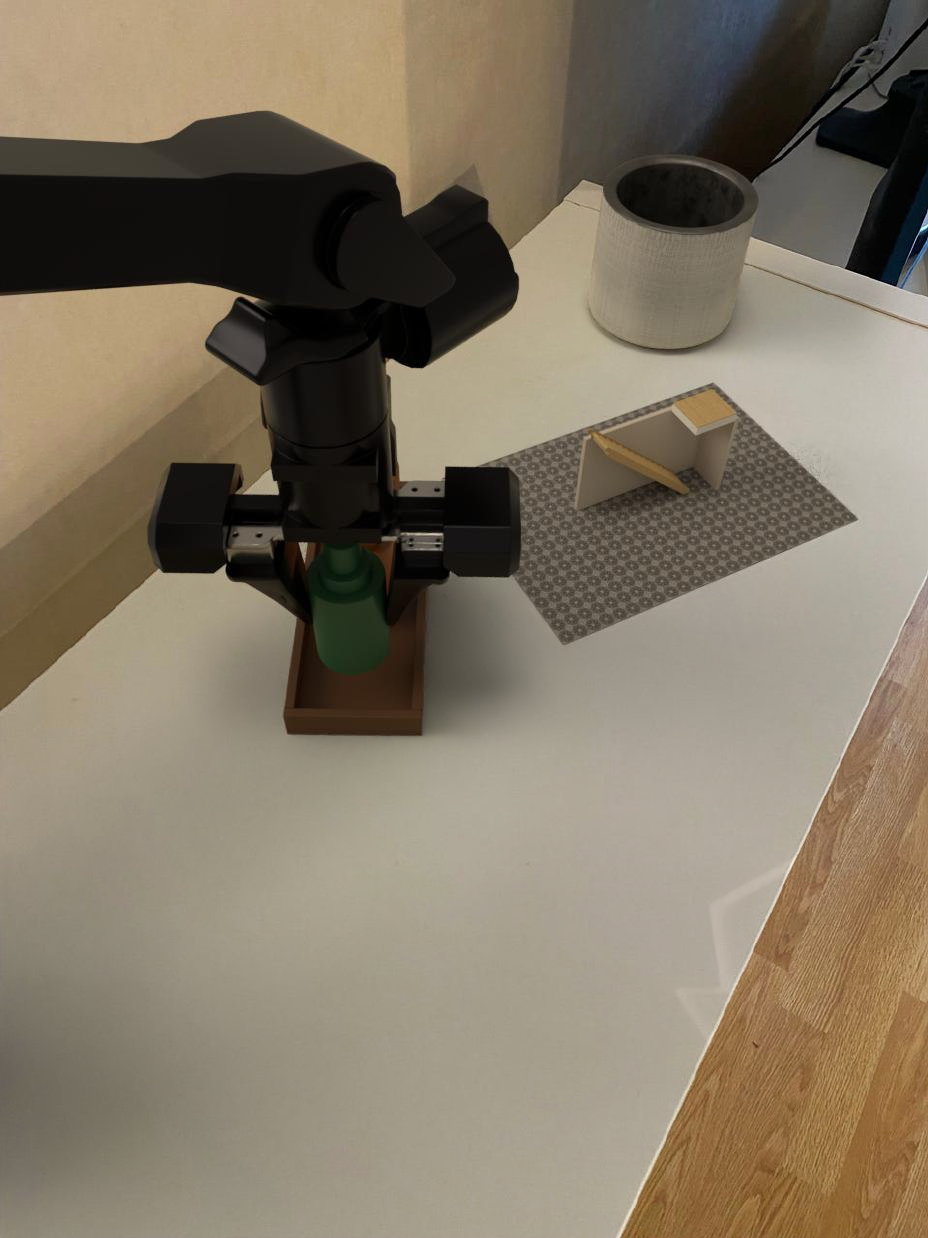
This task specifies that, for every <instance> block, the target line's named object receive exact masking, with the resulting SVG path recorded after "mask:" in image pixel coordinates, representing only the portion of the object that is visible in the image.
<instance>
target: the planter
mask: <svg viewBox="0 0 928 1238" xmlns="http://www.w3.org/2000/svg"><path fill="white" fill-rule="evenodd" d="M759 200H760V199H759V195H758V192H757V190H756V188H755V186H754V185H753V184H752V182H750V180H749V179H748V178H747V177H745V176H744V175H743V174H741V173H740V172H738V171H737V170H735V169H733V168H731V167H730V166H727V165H725V164H723V163H720V162H718V161H714V160H711V159H707V158H704V157H699V156H694V155H686V154H685V155H684V154H653V155H645V156H641V157H637V158H634V159H631V160H628V161H626V162H623V163H621V164H620V165H618V166H616V167H615V168H614V169H612V170H611V171H610V172H609V173H608V174H607V175H606V177H605V179H604V181H603V185H602V191H601V197H600V205H599V213H598V221H597V229H596V236H595V243H594V250H593V257H592V263H591V264H592V265H591V271H590V277H589V284H588V285H589V286H588V294H587V295H588V296H587V297H588V308H589V311H590V313H591V315H592V317H593V318H594V319H595V321H596V322H597V323H598V324H599V325H600V326H601V327H602V328H603V329H604V330H606V331H607V332H608V333H610V334H612V335H613V336H615V337H616V338H618V339H621V340H623V341H624V342H628V343H631V344H632V345H636V346H639V347H643V348H649V349H655V350H656V349H657V350H679V349H686V348H691V347H695V346H698V345H702V344H705V343H707V342H709V341H711V340H713V339H715V338H717V337H718V336H719V335H720V334H721V333H723V332H724V331H725V329H726V328H727V327H728V325H729V324H730V321H731V318H732V317H733V313H734V309H735V305H736V301H737V297H738V292H739V288H740V284H741V280H742V275H743V270H744V267H745V262H746V258H747V254H748V248H749V245H750V241H751V236H752V233H753V229H754V224H755V221H756V216H757V212H758V209H759V208H758V207H759Z"/></svg>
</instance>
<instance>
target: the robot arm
mask: <svg viewBox="0 0 928 1238" xmlns="http://www.w3.org/2000/svg"><path fill="white" fill-rule="evenodd" d="M402 206H403V205H402V198H401V190H400V189H399V186H398V184H397V175H396V174H395V172H394V171H392V170H391V169H390V168H389V166H387V165H385V164H383V163H381V162H379V161H376V160H375V159H373V158H370V157H368V156H367V155H365V154H362V153H361V152H359V151H357V150H354V149H352V148H350V147H348V146H346V145H344V144H342V143H340V142H338V141H337V140H335V139H332V138H330V137H329V136H326V135H324V134H322V133H320V132H318V131H316V130H314V129H311V128H310V127H308V126H306V125H304V124H302V123H300V122H297V121H295V120H294V119H292V118H289V117H287V116H285V115H283V114H280V113H278V112H275V111H272V110H254V111H248V112H247V111H246V112H241V113H235V114H229V115H222V116H221V115H220V116H215V117H209V118H202V119H197V120H194V121H193V122H192V123H190V124H188V125H187V126H186V127H184V128H182V129H181V130H180V131H178V132H176V133H174V135H172V136H170V137H167V138H162V139H157V140H150V141H144V142H125V141H123V142H122V141H105V140H104V141H102V140H84V139H83V140H82V139H65V138H63V139H61V138H42V137H23V136H20V137H19V136H3V135H1V136H0V297H5V296H6V297H7V296H20V295H21V296H22V295H33V294H34V295H37V294H49V293H61V292H63V293H64V292H76V291H77V292H81V291H93V290H107V289H108V290H109V289H121V288H137V287H149V286H150V287H151V286H164V285H180V284H195V285H203V286H210V287H216V288H220V289H224V290H228V291H231V292H233V293H237V294H241V296H237V297H236V298H235V299H234V301H233V303H232V306H231V308H230V310H229V312H228V313H227V314H226V315H225V316H224V317H223V318H222V319H221V320H219V321H218V322H217V323H216V324H215V325H214V326H213V327H212V329H211V331H210V333H208V335H207V338H206V339H205V341H204V348H205V350H206V351H207V353H209V354H210V355H212V356H213V357H215V358H217V359H218V360H219V361H221V362H223V363H224V364H225V365H227V366H228V367H230V368H231V369H233V370H234V371H236V372H237V373H238V374H240V375H242V376H243V377H245V378H246V379H248V380H249V381H251V382H253V384H255V385H257V386H259V390H260V391H259V402H260V414H261V416H260V417H261V425H262V426H263V428H264V429H265V430H267V434H268V439H269V444H270V445H269V446H270V451H271V459H270V465H269V466H270V470H271V472H270V473H271V477H272V481H273V482H276V483H277V484H276V485H277V490H278V494H268V493H267V494H265V493H264V494H262V493H261V494H260V493H258V494H257V493H255V494H254V493H246V494H245V493H237V492H238V491H239V490H240V489H241V488H243V487H244V486H243V485H244V481H245V478H244V472H243V469H242V468H243V467H242V464H239V463H233V462H231V463H230V462H229V463H228V462H227V463H226V462H171V463H169V465H168V466H167V467H166V468H165V470H164V471H163V472H162V473H161V476H160V480H159V484H158V488H157V491H156V494H155V498H154V502H153V505H152V509H151V513H150V516H149V520H148V522H147V527H146V528H147V529H146V530H147V531H146V533H147V546H148V549H149V551H150V555H151V557H152V561H153V564H154V566H155V567H156V568H158V570H159V571H160V572H162V573H163V574H196V575H197V574H201V575H202V574H203V575H208V574H209V575H214V574H215V573H217V572H218V571H219V570H221V569H222V568H223V567H225V568H224V570H225V575H226V577H227V579H228V580H229V581H231V582H232V583H244V584H246V585H249V587H251V588H253V589H255V590H256V591H258V592H260V593H261V594H263V595H264V596H266V597H268V598H270V599H271V600H273V601H275V603H277V604H278V605H280V606H281V607H283V608H284V609H285V610H287V611H288V612H289V613H290V614H292V615H293V616H294V617H296V619H297V618H298V619H299V620H301V621H302V622H303V623H305V624H306V625H312V624H313V620H312V614H311V608H310V602H309V596H308V590H307V584H306V572H307V571H306V567H305V559H304V557H303V553H302V550H301V546H300V543H303V544H304V543H305V544H307V543H370V544H382V541H394V548H393V556H392V563H391V571H390V579H389V587H388V597H387V611H386V619H387V625H388V626H394V625H395V624H396V623H397V621H398V620H399V618H400V617H401V616H402V614H403V613H404V611H405V610H406V609H407V607H408V606H409V605H410V603H411V602H412V601H413V600H414V599H415V598H416V597H418V596H419V595H420V594H421V593H422V592H423V591H424V590H425V589H427V588H428V589H429V587H430V586H441V585H444V584H446V583H448V582H449V580H450V578H451V574H453V575H455V576H457V577H458V578H499V579H500V578H501V579H502V578H503V579H504V578H506V579H508V578H510V577H512V576H513V574H514V573H515V572H517V571H518V570H519V567H520V554H521V512H520V487H519V478H518V477H517V475H516V474H515V473H514V472H513V471H512V470H511V469H510V468H509V467H476V466H451V465H450V466H449V465H448V466H447V465H445V466H444V478H445V481H443V480H408V481H409V482H407V483H405V484H404V485H403V486H402V487H401V488H400V489H393V480H392V476H396V474H397V461H398V447H397V446H398V445H397V443H398V442H397V429H396V426H395V423H394V421H393V415H392V413H393V412H392V378H391V375H389V374H387V361H386V359H388V360H393V361H395V362H396V363H398V364H399V365H401V366H405V367H408V368H410V369H424V368H426V367H428V366H430V365H431V364H433V363H435V362H436V361H438V360H440V359H441V358H442V357H444V356H445V355H446V354H448V353H450V352H451V351H453V350H454V349H456V348H458V347H459V346H461V345H463V344H464V343H465V342H467V341H469V340H470V339H472V338H473V337H475V336H477V335H478V334H479V333H481V332H482V331H484V330H486V329H487V328H489V327H490V326H492V325H493V324H495V323H496V322H498V321H500V320H502V319H503V318H504V317H506V316H507V315H508V314H509V313H510V312H511V311H512V310H513V309H514V306H515V304H516V302H517V301H518V296H519V293H520V292H519V291H520V277H519V274H518V273H517V271H516V270H515V265H514V261H513V259H512V256H511V253H510V251H509V250H510V249H508V247H507V245H506V243H505V241H504V240H503V238H502V236H501V235H500V233H499V232H498V231H497V230H496V228H495V227H494V226H493V224H491V222H490V221H489V200H488V199H487V198H486V197H484V196H481V195H479V194H478V193H475V192H473V191H471V190H469V189H467V188H465V187H463V186H462V185H459V184H454V185H452V186H450V187H448V188H447V189H445V190H443V191H441V192H440V193H437V195H436V196H435V197H433V198H432V200H430V201H429V202H428V203H426V204H424V205H423V206H421V207H419V208H417V209H415V210H413V211H412V212H410V213H408V214H406V215H403V207H402ZM242 295H243V296H242ZM244 295H245V296H248V297H251V298H254V299H256V300H255V301H254V302H252V301H251V300H250V299H247V297H244Z"/></svg>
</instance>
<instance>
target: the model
mask: <svg viewBox="0 0 928 1238" xmlns="http://www.w3.org/2000/svg"><path fill="white" fill-rule="evenodd" d="M739 421H740V417H739V416H738V412H737V411H736V410H735V409H734V408H733V407H732V406H731V405H729V404H728V403H727V402H726V401H725V400H724V399H723V398H722V397H721V396H720V395H719V394H718V393H717V392H716V391H715V390H714V389H713V388H711V389H708V390H705V391H703V392H700V393H697V394H694V395H691V396H689V397H686V398H683V399H680V400H677V401H675V402H673V403H672V405H670V406H667V407H664V408H661V409H658V410H656V411H653V412H650V413H647V414H644V415H642V416H639V417H636V418H633V419H630V420H628V421H625V422H622V423H619V424H616V425H614V426H611V427H608V428H605V429H602V430H600V431H597V430H595V429H593V428H588V429H587V430H586V434H587V435H586V436H583V437H582V445H581V452H580V460H579V467H578V475H577V482H576V489H575V497H574V504H573V508H574V509H575V510H576V511H579V510H582V509H583V508H587V507H590V506H591V505H594V504H598V503H599V502H602V501H605V500H607V499H610V498H613V497H615V496H618V495H621V494H622V493H626V492H629V491H632V490H633V489H636V488H640V487H641V486H644V485H647V484H649V483H652V482H655V481H656V482H658V483H660V484H662V485H664V486H666V487H668V488H670V489H672V490H674V491H676V492H678V493H680V494H682V495H684V494H687V493H689V492H690V491H691V488H690V487H688V486H686V485H685V484H684V483H683V482H682V481H681V480H680V479H679V478H678V477H677V476H676V475H675V474H676V473H678V472H681V471H684V470H685V469H689V468H692V467H693V468H694V469H695V470H696V471H697V472H698V473H699V474H700V475H701V476H702V477H703V478H704V479H705V480H706V481H707V482H708V483H709V484H710V485H711V486H712V487H713V488H714V490H715V491H716V490H718V489H719V488H720V487H721V484H722V480H723V477H724V473H725V470H726V466H727V463H728V459H729V456H730V452H731V449H732V445H733V442H734V438H735V435H736V431H737V428H738V424H739Z"/></svg>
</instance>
